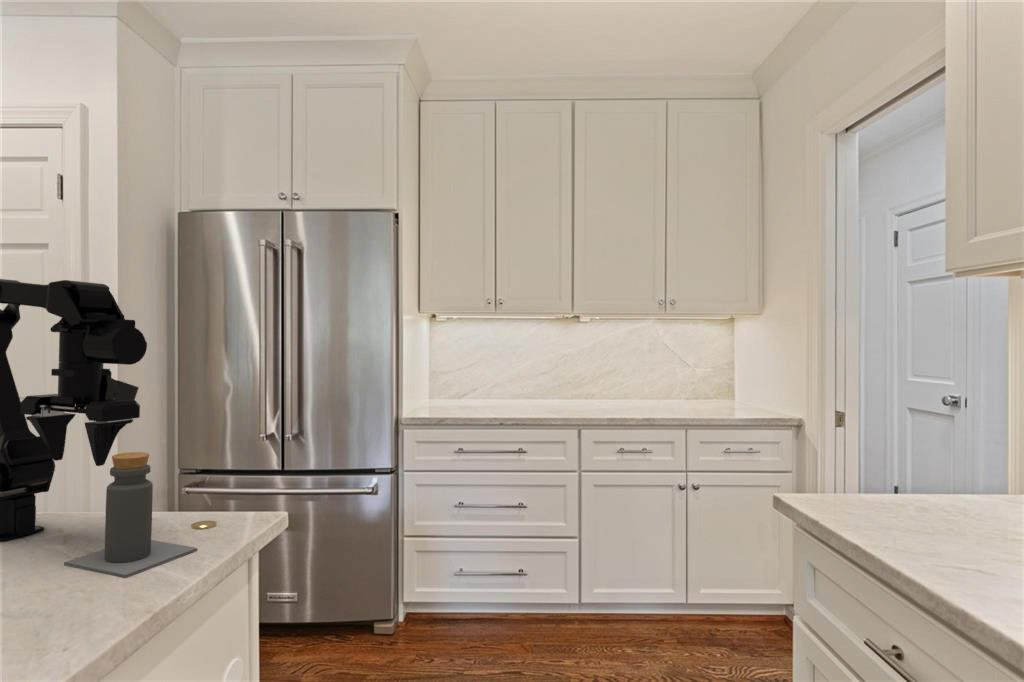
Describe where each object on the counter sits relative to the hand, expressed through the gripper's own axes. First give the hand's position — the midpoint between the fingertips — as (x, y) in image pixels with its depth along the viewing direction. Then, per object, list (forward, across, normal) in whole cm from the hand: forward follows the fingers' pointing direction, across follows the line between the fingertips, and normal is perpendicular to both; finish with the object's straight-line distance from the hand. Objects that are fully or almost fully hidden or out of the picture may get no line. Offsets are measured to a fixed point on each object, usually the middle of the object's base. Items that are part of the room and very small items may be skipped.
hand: (78, 462), depth 96 cm
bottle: (+13, -12, +1) cm, 17 cm away
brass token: (+13, -9, -16) cm, 22 cm away
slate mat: (+13, -12, 0) cm, 18 cm away
